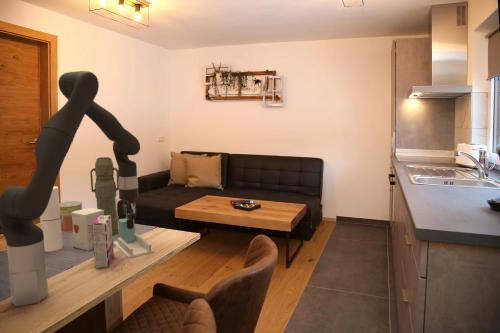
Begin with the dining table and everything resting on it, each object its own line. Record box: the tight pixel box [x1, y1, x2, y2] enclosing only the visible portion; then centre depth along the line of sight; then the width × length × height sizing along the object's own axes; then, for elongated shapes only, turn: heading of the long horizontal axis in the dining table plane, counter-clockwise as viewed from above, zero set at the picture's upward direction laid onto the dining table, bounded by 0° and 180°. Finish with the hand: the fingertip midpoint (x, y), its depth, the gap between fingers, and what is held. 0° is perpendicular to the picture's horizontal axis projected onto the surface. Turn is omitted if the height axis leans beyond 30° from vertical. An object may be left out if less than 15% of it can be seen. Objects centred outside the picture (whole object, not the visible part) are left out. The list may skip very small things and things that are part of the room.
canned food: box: [59, 200, 83, 233], centre depth 175 cm, size 11×11×12 cm
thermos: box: [89, 156, 119, 237], centre depth 165 cm, size 9×12×35 cm
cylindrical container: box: [39, 185, 63, 253], centre depth 148 cm, size 7×7×25 cm
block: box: [117, 218, 136, 243], centre depth 154 cm, size 5×5×9 cm
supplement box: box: [72, 207, 104, 251], centre depth 151 cm, size 9×9×15 cm
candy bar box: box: [92, 215, 115, 269], centre depth 134 cm, size 11×5×16 cm, turn 12°
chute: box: [113, 233, 155, 259], centre depth 149 cm, size 20×10×3 cm, turn 36°
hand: (130, 228), depth 151 cm, fingers closed
